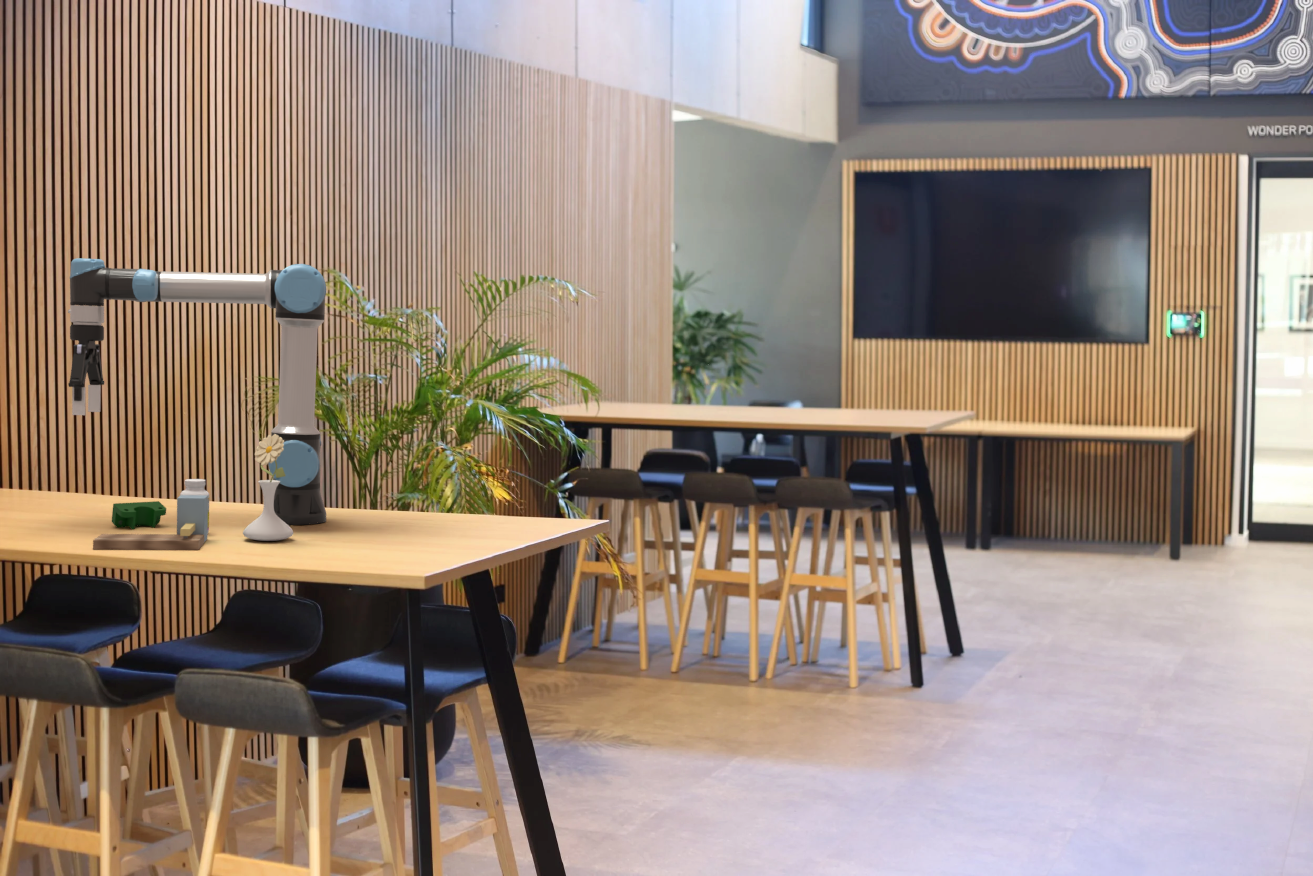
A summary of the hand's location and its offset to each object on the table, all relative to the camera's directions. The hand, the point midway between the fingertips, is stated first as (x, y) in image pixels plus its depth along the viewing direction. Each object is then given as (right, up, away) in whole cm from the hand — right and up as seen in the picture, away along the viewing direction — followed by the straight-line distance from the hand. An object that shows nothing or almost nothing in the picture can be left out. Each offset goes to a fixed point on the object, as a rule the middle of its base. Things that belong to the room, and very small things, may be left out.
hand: (86, 413), depth 344 cm
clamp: (+11, -28, +5) cm, 30 cm away
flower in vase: (+46, -30, -9) cm, 56 cm away
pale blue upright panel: (+31, -30, -19) cm, 46 cm away
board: (+23, -30, -24) cm, 45 cm away
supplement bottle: (+27, -29, -3) cm, 39 cm away
